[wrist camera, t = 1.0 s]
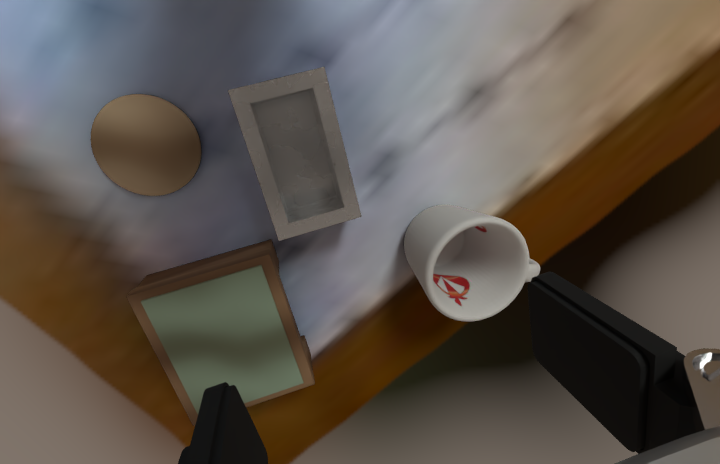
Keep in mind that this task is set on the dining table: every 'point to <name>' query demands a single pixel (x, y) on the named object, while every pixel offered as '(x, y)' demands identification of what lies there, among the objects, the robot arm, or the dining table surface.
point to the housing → (297, 151)
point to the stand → (224, 327)
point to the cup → (467, 261)
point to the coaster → (146, 144)
